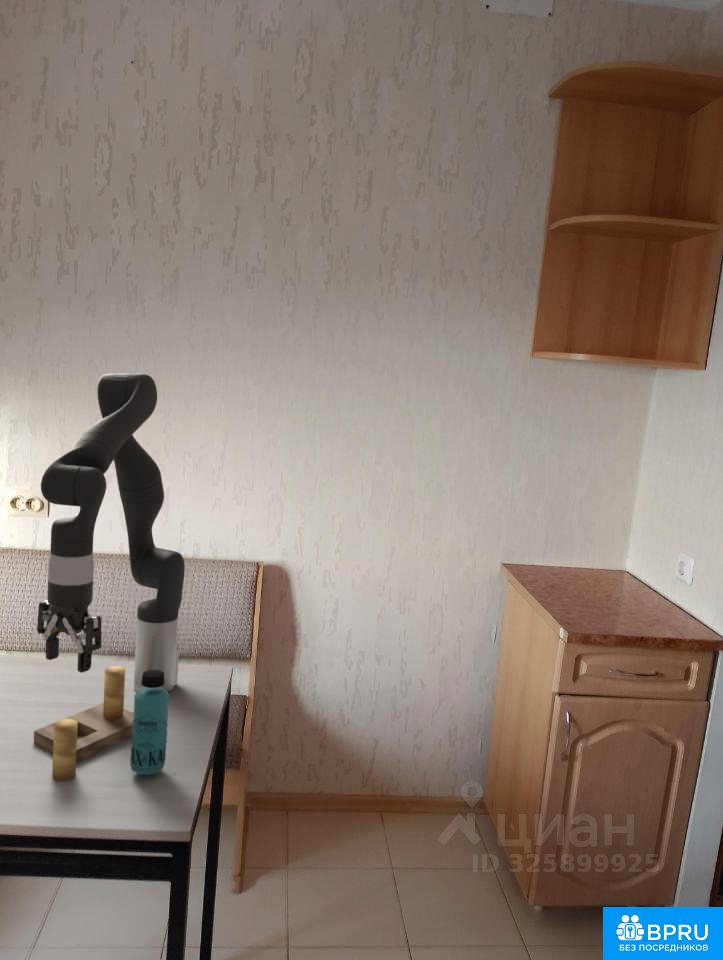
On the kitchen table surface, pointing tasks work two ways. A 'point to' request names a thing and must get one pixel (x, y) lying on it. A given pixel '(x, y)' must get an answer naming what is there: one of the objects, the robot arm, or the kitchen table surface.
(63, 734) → the pin
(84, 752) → the pin plate
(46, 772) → the kitchen table surface
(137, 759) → the beverage bottle
